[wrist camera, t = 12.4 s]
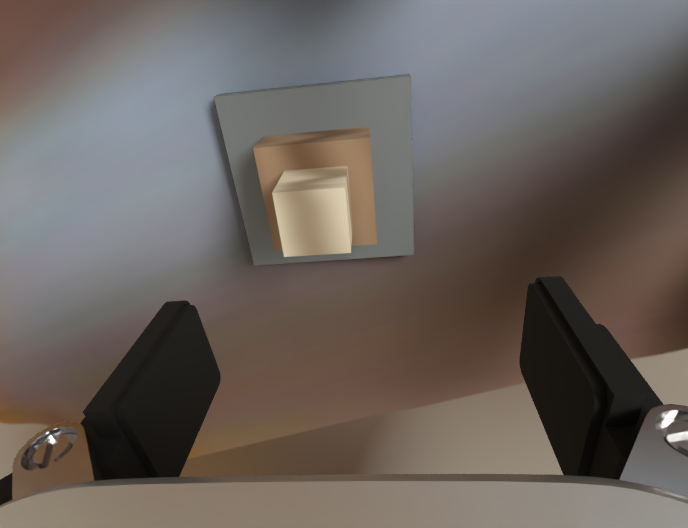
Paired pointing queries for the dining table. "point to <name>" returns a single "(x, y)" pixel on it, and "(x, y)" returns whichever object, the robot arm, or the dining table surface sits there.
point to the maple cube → (314, 211)
